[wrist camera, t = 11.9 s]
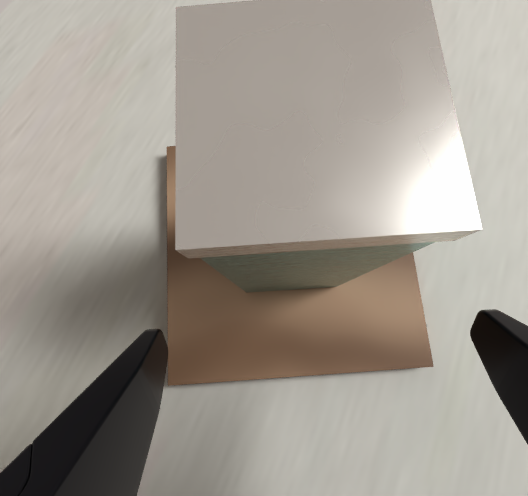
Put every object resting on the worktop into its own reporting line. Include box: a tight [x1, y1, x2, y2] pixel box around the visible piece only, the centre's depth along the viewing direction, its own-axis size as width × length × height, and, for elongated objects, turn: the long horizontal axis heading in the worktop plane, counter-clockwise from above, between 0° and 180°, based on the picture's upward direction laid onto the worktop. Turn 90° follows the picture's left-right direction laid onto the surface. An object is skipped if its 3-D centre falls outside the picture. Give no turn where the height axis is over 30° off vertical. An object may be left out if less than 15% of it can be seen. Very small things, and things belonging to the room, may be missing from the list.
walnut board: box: [167, 146, 433, 386], centre depth 18 cm, size 14×14×2 cm
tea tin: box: [175, 0, 482, 293], centre depth 12 cm, size 5×5×12 cm
